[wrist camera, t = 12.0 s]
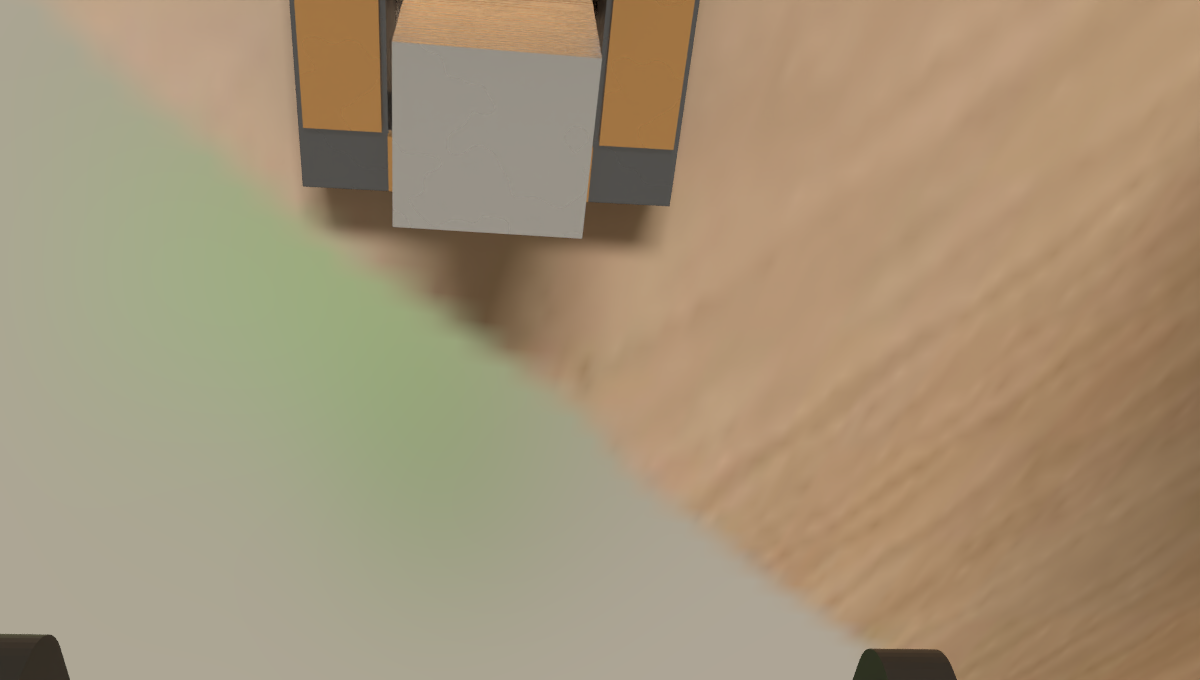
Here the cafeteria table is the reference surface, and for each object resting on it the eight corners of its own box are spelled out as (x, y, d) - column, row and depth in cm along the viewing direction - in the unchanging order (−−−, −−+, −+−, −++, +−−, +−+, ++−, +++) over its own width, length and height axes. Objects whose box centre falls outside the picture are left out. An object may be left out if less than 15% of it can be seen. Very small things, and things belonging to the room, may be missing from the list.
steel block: (580, -68, 28) (602, 58, 21) (566, 78, 30) (582, 238, 23) (425, -82, 28) (391, 41, 20) (423, 67, 30) (392, 227, 23)
